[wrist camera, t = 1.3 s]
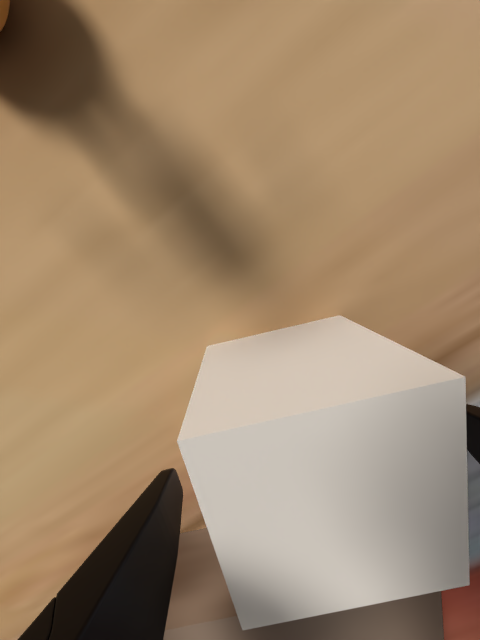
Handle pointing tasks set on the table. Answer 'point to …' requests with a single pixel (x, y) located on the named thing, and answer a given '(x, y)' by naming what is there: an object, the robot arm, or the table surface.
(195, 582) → the walnut slab
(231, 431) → the off-white cube
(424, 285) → the table surface
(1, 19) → the figurine
